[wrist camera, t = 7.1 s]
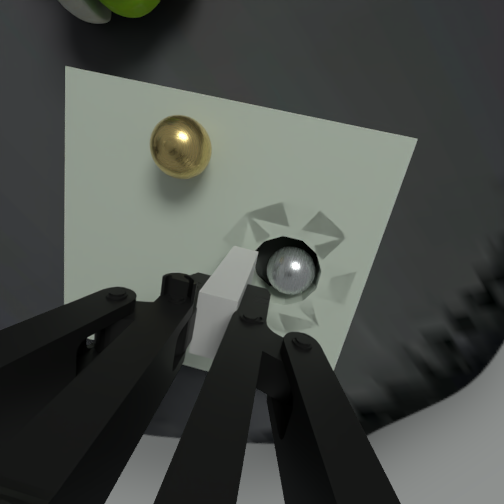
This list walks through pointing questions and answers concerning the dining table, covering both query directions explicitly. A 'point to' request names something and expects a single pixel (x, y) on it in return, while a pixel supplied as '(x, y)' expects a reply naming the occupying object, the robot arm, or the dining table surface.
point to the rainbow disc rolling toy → (108, 9)
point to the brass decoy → (180, 147)
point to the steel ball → (291, 270)
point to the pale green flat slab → (223, 198)
